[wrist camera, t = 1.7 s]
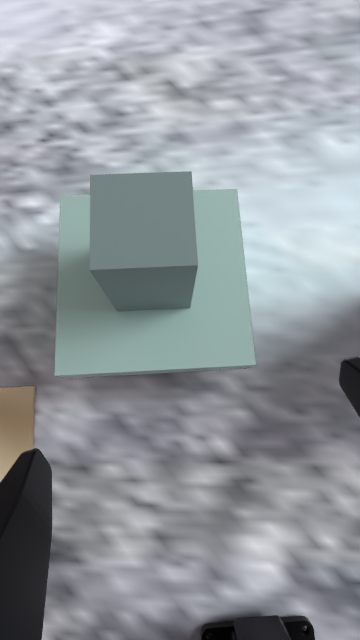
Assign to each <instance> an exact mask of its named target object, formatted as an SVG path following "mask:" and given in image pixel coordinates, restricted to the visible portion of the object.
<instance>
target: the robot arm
mask: <svg viewBox="0 0 360 640" xmlns="http://www.w3.org/2000/svg"><path fill="white" fill-rule="evenodd" d="M339 383H340V386H341V388H342V390H343V391H344V393H345V394H346V396H347V398H348V399H349V401H350V402H351V404H352V405H353V407H354V409H355V410H356V412H357V413H358V415H359V417H360V358H359V357H351V358H348V359H344V360H343V361H342V362H341V368H340V376H339ZM51 537H52V471H51V467H50V464H49V463H48V461H47V460H46V458H45V457H44V455H43V454H42V452H41V451H40V450H39V449H37V448H35V449H31V450H28V451H25V452H23V453H21V454H20V456H19V457H18V458H17V460H16V461H15V463H14V464H13V465H12V467H11V468H10V469H9V471H8V472H7V474H6V475H5V476H4V478H3V479H2V481H1V482H0V640H41V638H42V628H43V618H44V608H45V598H46V588H47V578H48V568H49V558H50V548H51ZM302 626H307V629H306V630H305V631H301V628H302ZM209 633H212V634H213V635H214V636H213V637H212V638H210V639H209V638H207V637H206V635H207V634H209ZM201 640H315V636H314V629H313V626H312V624H311V623H310V621H309V620H308V618H306V617H304V616H295V617H282V618H279V617H278V616H263V617H250V618H238V619H236V620H235V621H231V622H219V623H208V624H205V625H204V626H203V628H202V630H201Z"/></svg>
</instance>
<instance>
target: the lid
mask: <svg viewBox="0 0 360 640" xmlns="http://www.w3.org/2000/svg"><path fill="white" fill-rule="evenodd" d="M254 365H256V360H255V351H254V341H253V332H252V323H251V314H250V304H249V295H248V286H247V276H246V267H245V258H244V249H243V239H242V230H241V221H240V212H239V202H238V193H237V189H224V190H198V191H193V187H192V173H191V171H190V172H162V173H134V174H105V175H90V195H63V196H60V219H59V250H58V280H57V311H56V342H55V373H54V376H59V377H65V378H83V377H102V376H120V375H139V374H157V373H175V372H194V371H212V370H230V369H246V368H249V367H252V366H254Z"/></svg>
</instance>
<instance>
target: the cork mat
mask: <svg viewBox="0 0 360 640" xmlns="http://www.w3.org/2000/svg"><path fill="white" fill-rule="evenodd" d="M35 395H36V386H23V387H5V388H0V482H1V481H2V479H3V478H4V476H5V475H6V474H7V472H8V471H9V469H10V468H11V467H12V465H13V464H14V463H15V461H16V460H17V458H18V457H19V456H20V454H21V453H23V452H25V451H28V450H31V449H33V440H34V417H35Z"/></svg>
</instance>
